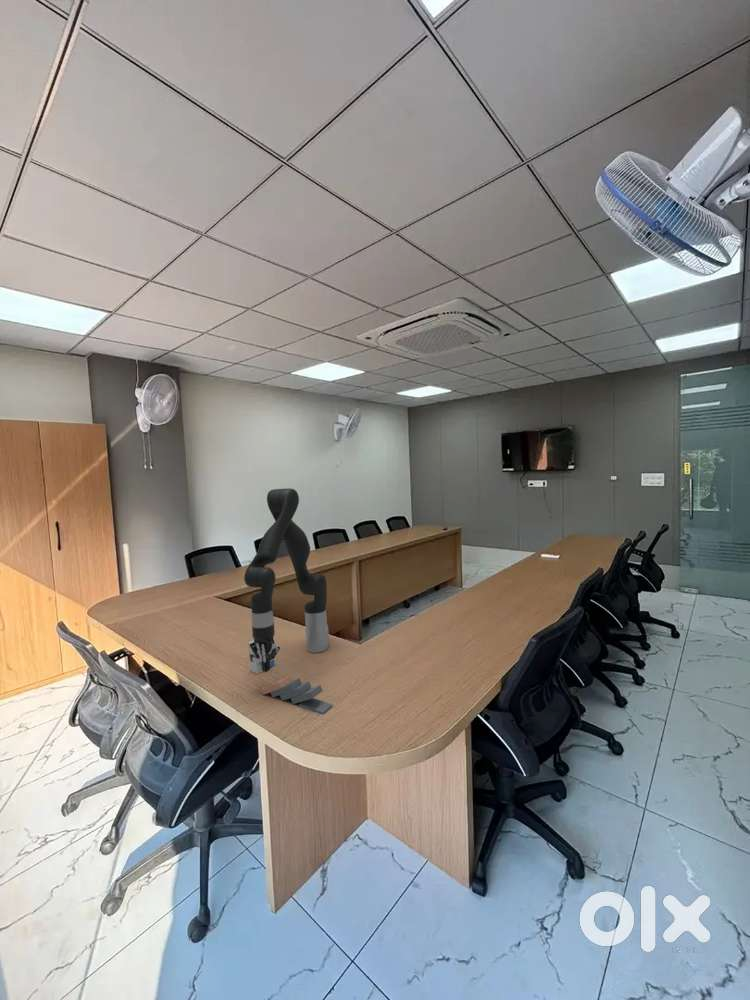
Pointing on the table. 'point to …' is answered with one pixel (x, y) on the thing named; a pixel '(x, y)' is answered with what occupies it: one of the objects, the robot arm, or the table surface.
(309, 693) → the domino
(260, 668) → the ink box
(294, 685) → the domino
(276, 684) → the domino
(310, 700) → the domino
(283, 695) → the domino
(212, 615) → the table surface
